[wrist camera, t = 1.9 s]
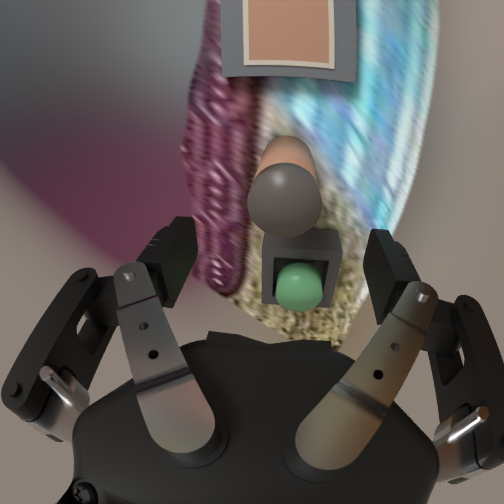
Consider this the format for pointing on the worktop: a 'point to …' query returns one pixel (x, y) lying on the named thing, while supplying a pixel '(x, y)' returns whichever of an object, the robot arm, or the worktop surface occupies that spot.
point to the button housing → (301, 260)
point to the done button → (299, 287)
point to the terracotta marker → (285, 189)
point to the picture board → (289, 38)
